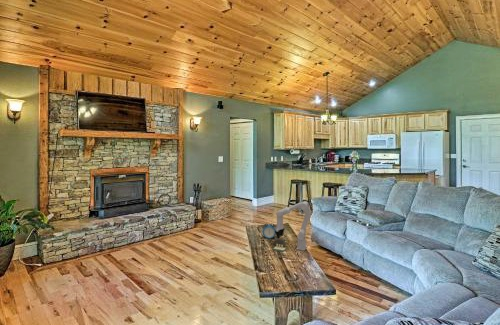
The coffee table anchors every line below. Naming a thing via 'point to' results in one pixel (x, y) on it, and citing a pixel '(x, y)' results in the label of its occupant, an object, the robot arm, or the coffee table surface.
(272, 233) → the alarm clock
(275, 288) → the coffee table surface
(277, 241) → the block
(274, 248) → the green and cream box
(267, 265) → the coffee table surface
